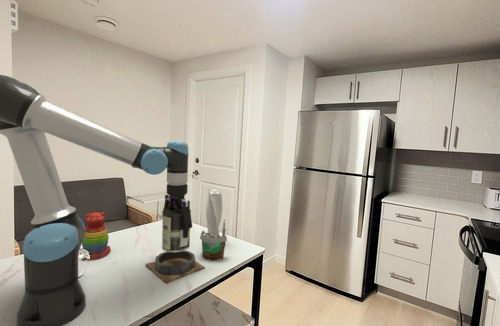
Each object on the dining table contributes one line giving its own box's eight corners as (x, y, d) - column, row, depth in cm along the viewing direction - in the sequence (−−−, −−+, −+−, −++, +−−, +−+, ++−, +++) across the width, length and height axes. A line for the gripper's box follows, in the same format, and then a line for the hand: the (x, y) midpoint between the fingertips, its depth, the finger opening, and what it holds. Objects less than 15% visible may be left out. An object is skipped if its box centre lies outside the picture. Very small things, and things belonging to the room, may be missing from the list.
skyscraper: (214, 251, 117) (216, 189, 114) (200, 246, 121) (202, 187, 119) (225, 245, 124) (228, 187, 122) (212, 241, 128) (214, 184, 126)
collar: (167, 279, 90) (167, 271, 90) (148, 264, 100) (148, 256, 100) (201, 266, 101) (202, 259, 100) (181, 253, 111) (181, 246, 110)
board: (166, 283, 89) (166, 281, 89) (145, 266, 100) (145, 264, 100) (204, 268, 101) (204, 266, 101) (182, 254, 112) (182, 252, 112)
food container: (193, 257, 110) (194, 234, 109) (202, 251, 115) (202, 229, 114) (218, 264, 105) (219, 240, 104) (226, 258, 110) (227, 235, 109)
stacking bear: (110, 248, 115) (110, 208, 113) (110, 257, 106) (110, 214, 104) (81, 251, 110) (81, 210, 108) (78, 262, 101) (77, 217, 99)
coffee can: (194, 243, 104) (195, 208, 103) (182, 254, 94) (183, 216, 93) (170, 240, 106) (170, 206, 105) (156, 250, 96) (156, 213, 95)
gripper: (203, 187, 92) (201, 248, 95) (171, 178, 108) (170, 230, 110) (185, 189, 87) (183, 254, 89) (153, 179, 103) (152, 235, 105)
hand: (176, 241), depth 100 cm, fingers closed on coffee can, 10 cm apart
